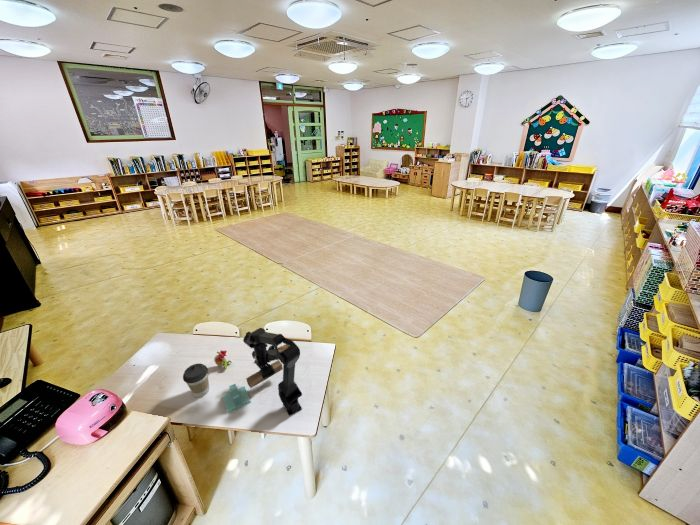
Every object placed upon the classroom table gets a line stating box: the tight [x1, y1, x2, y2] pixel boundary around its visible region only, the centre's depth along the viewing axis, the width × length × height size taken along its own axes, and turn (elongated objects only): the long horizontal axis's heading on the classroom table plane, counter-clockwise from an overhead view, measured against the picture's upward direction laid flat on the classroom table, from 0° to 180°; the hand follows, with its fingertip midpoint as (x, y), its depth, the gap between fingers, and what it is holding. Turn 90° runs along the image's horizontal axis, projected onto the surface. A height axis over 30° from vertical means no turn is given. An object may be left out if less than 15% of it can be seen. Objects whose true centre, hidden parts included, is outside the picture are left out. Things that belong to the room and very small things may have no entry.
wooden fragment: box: [253, 344, 290, 364], centre depth 175 cm, size 26×11×1 cm, turn 116°
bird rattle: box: [213, 349, 232, 370], centre depth 165 cm, size 6×11×9 cm
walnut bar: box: [245, 359, 283, 389], centre depth 151 cm, size 4×18×4 cm, turn 132°
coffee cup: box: [182, 362, 210, 398], centre depth 149 cm, size 11×11×15 cm
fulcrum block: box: [222, 383, 251, 414], centre depth 146 cm, size 11×11×6 cm
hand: (265, 374), depth 151 cm, fingers closed on walnut bar, 4 cm apart
